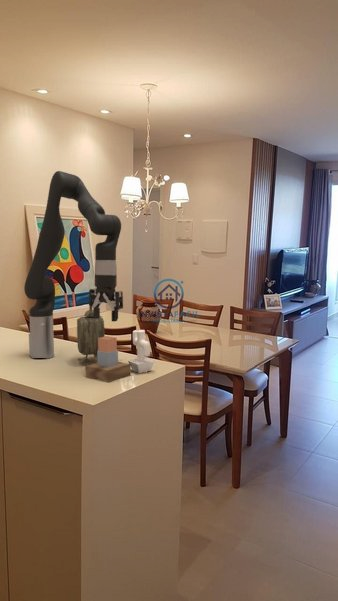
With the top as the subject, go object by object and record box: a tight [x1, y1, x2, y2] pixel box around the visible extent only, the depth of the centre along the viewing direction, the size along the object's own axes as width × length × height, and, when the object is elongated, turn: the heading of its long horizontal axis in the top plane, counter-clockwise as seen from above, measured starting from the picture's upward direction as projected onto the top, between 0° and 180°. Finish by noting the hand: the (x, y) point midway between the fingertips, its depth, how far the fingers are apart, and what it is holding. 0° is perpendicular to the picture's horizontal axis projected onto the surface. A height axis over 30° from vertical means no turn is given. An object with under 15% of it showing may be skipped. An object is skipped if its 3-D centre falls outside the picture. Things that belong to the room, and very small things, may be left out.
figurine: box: [127, 329, 156, 374], centre depth 165 cm, size 7×9×15 cm
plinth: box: [85, 361, 132, 383], centre depth 159 cm, size 11×11×4 cm
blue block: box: [96, 349, 119, 367], centre depth 159 cm, size 5×5×5 cm
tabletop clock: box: [76, 306, 106, 363], centre depth 179 cm, size 14×9×25 cm, turn 16°
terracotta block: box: [98, 335, 118, 353], centre depth 158 cm, size 4×4×4 cm
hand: (105, 319), depth 159 cm, fingers open, 8 cm apart
